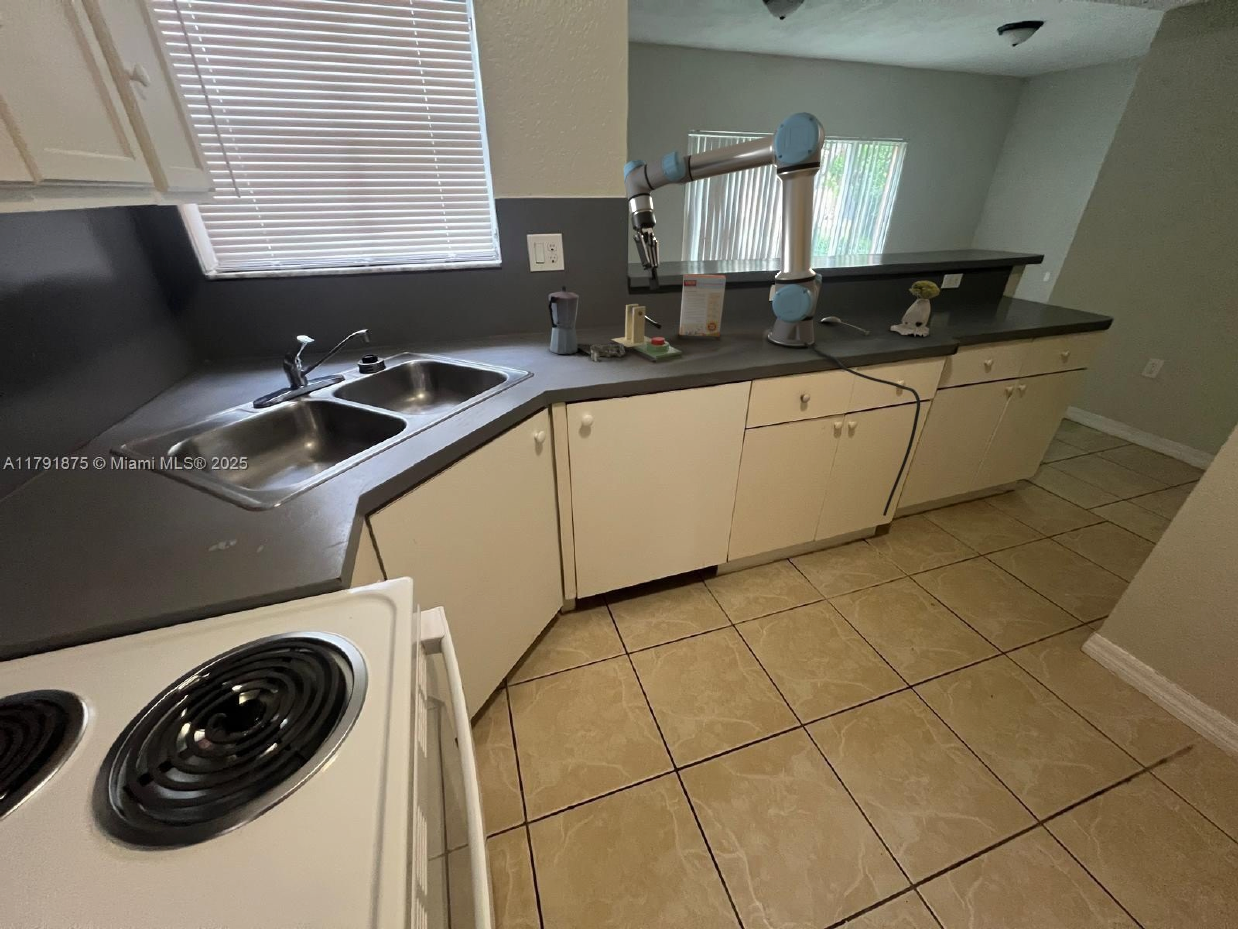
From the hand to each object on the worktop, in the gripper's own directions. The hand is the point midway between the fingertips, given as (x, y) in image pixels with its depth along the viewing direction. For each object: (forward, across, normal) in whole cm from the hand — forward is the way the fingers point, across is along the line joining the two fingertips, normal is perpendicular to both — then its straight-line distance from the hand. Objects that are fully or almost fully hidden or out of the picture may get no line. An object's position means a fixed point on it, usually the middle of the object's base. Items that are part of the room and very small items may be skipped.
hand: (655, 289), depth 160 cm
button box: (+22, +9, +2) cm, 23 cm away
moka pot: (+15, +24, -24) cm, 37 cm away
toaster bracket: (+16, +4, -9) cm, 19 cm away
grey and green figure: (+29, -72, +64) cm, 101 cm away
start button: (+18, +10, +3) cm, 21 cm away
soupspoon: (+23, -63, +44) cm, 80 cm away
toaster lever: (+9, +3, -5) cm, 11 cm away
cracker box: (+17, -17, +5) cm, 25 cm away
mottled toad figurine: (+20, +20, -10) cm, 30 cm away
